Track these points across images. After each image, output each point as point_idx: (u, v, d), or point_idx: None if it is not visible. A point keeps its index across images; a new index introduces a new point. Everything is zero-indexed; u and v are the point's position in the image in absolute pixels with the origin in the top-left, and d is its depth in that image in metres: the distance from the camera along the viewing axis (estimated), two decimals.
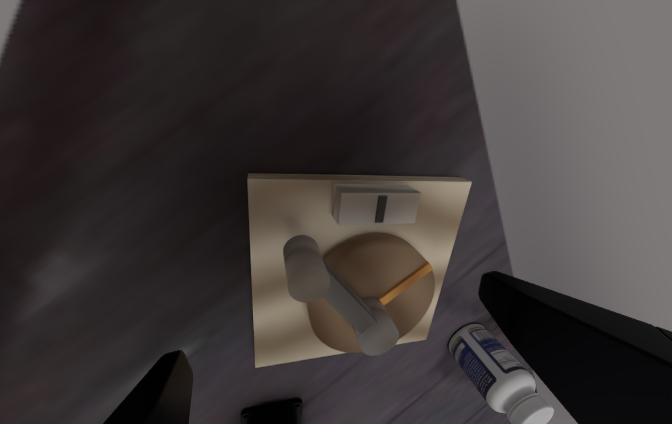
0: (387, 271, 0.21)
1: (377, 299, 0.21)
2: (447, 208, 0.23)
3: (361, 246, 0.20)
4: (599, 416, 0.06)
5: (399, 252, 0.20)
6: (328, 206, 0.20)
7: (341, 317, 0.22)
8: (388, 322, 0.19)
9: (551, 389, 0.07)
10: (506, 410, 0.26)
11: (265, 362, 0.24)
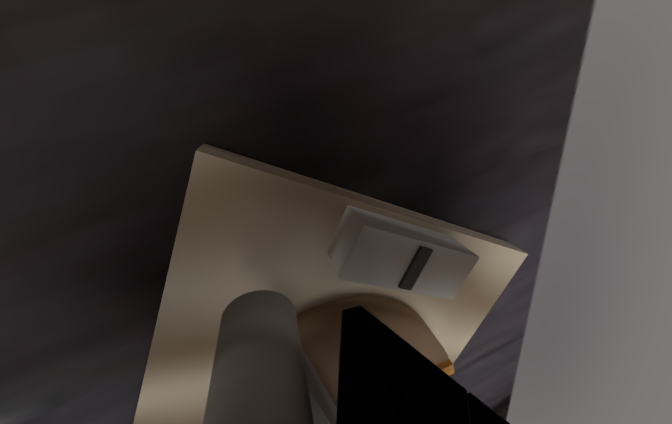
0: None
1: None
2: (487, 282, 0.16)
3: None
4: None
5: (417, 340, 0.12)
6: (326, 238, 0.12)
7: None
8: None
9: None
10: None
11: None
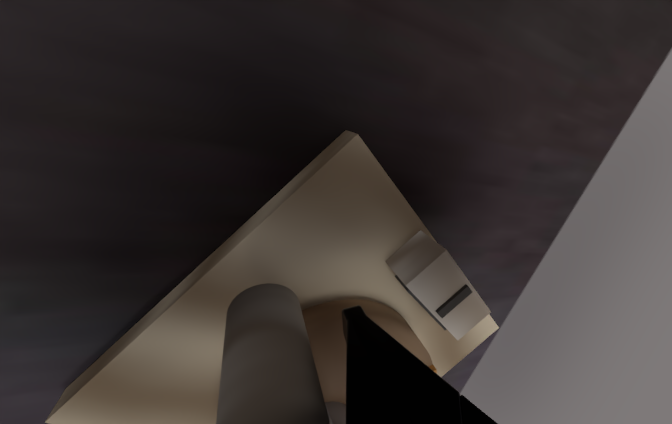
0: None
1: None
2: (465, 340, 0.18)
3: None
4: None
5: (405, 344, 0.13)
6: (391, 249, 0.13)
7: None
8: None
9: None
10: None
11: (75, 420, 0.12)
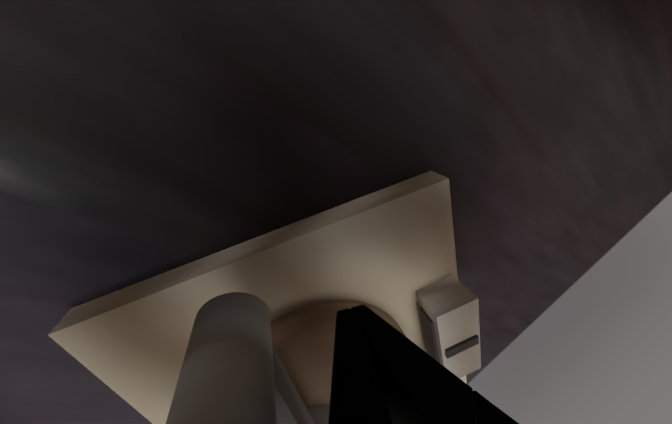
0: None
1: None
2: None
3: None
4: None
5: None
6: (424, 283, 0.15)
7: None
8: None
9: None
10: None
11: (77, 344, 0.11)
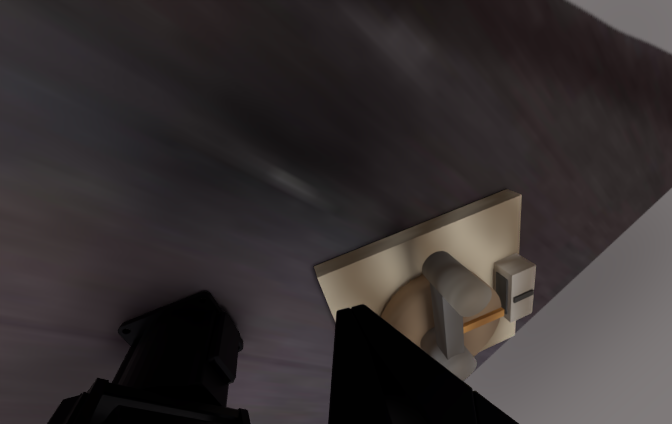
0: None
1: None
2: (496, 334, 0.29)
3: None
4: None
5: None
6: (499, 257, 0.24)
7: (415, 338, 0.22)
8: (472, 355, 0.20)
9: None
10: None
11: (326, 284, 0.20)
